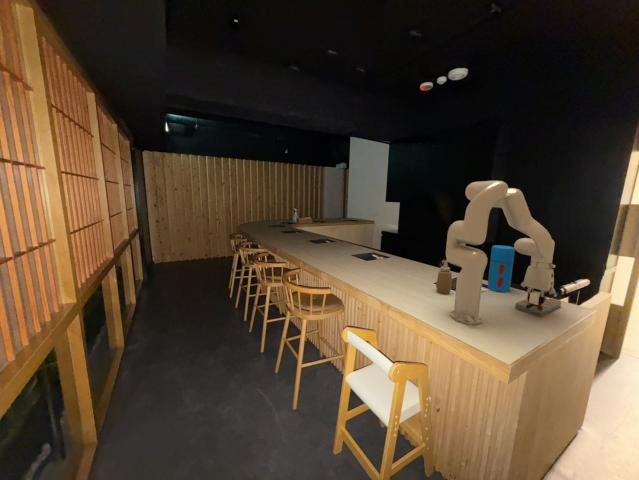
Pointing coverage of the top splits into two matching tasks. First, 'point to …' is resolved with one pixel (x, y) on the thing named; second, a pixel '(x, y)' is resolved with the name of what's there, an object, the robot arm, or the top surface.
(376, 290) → the top surface
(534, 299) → the fader
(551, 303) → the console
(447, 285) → the squeeze bottle
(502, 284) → the thermos
